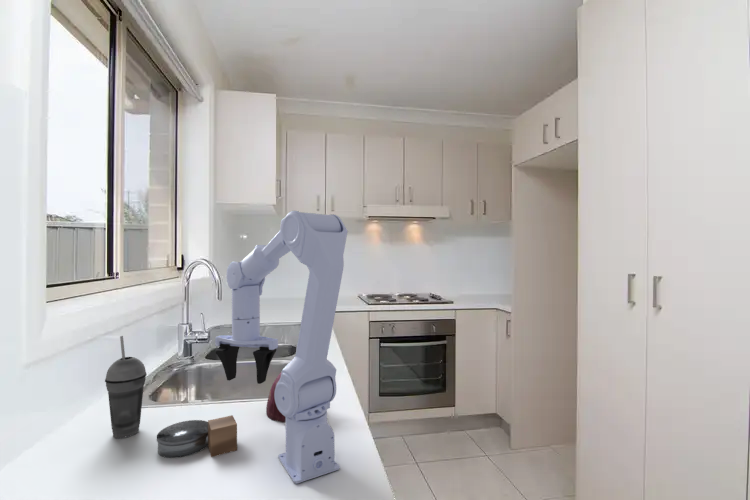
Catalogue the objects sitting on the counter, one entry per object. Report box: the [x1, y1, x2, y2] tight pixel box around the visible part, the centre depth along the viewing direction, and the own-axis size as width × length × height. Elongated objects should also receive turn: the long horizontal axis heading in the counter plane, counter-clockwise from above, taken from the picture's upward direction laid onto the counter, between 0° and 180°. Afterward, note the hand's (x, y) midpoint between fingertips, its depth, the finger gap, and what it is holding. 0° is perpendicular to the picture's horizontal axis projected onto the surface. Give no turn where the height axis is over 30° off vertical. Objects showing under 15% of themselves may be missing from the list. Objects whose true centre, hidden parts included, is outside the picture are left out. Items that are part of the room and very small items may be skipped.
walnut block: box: [207, 414, 238, 458], centre depth 71 cm, size 4×4×5 cm
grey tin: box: [156, 419, 208, 459], centre depth 72 cm, size 9×9×3 cm
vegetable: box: [265, 372, 286, 423], centre depth 88 cm, size 10×10×15 cm
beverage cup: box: [104, 335, 147, 439], centre depth 77 cm, size 7×7×20 cm
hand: (246, 380), depth 80 cm, fingers open, 7 cm apart
